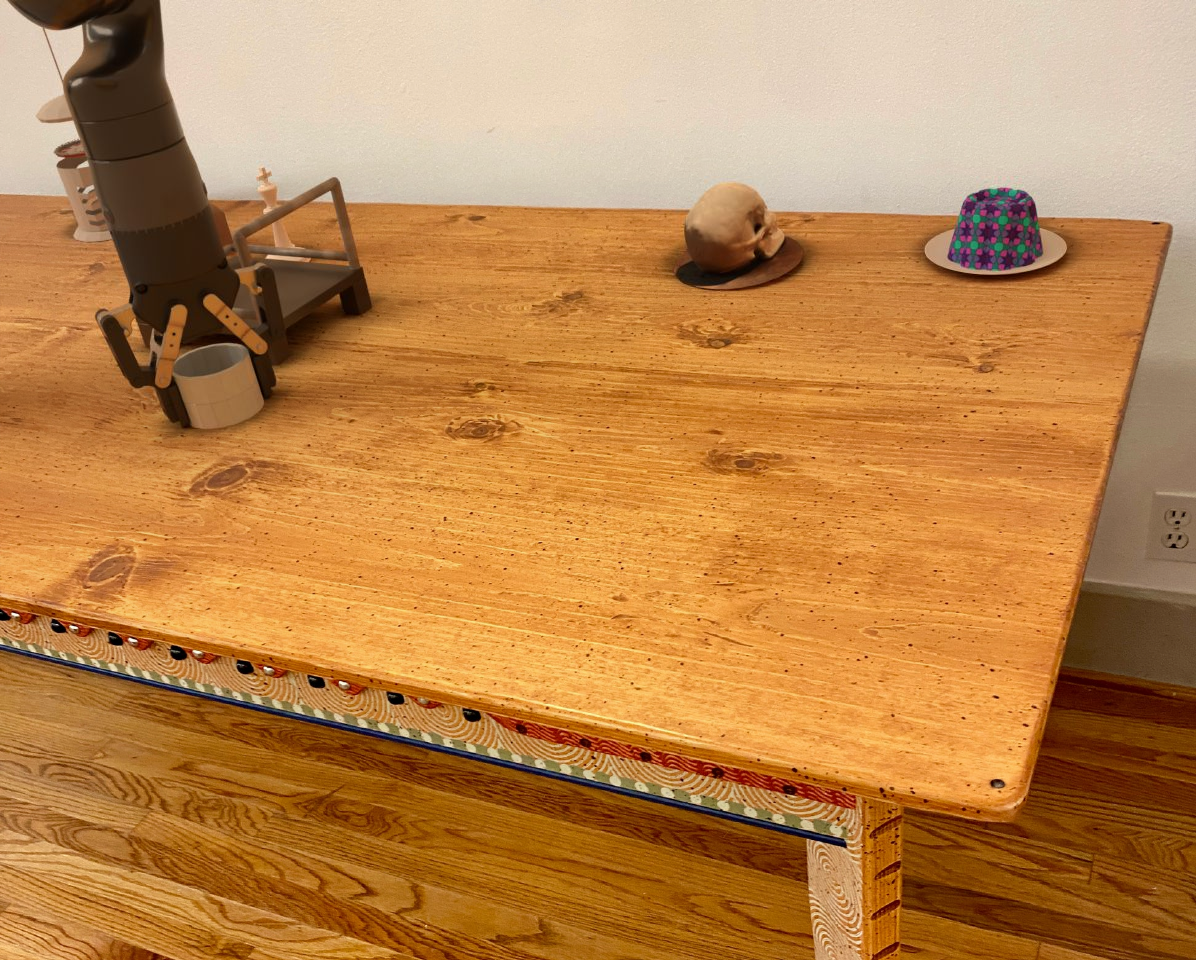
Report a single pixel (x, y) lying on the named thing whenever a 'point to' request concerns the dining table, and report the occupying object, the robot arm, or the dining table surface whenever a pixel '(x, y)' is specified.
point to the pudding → (996, 236)
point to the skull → (734, 241)
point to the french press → (75, 173)
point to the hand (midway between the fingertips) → (224, 407)
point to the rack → (296, 272)
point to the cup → (217, 385)
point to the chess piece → (280, 234)
